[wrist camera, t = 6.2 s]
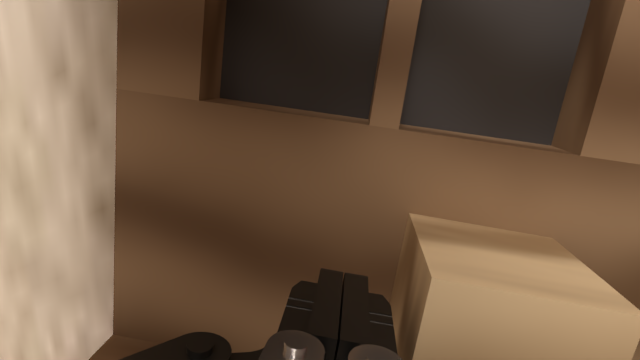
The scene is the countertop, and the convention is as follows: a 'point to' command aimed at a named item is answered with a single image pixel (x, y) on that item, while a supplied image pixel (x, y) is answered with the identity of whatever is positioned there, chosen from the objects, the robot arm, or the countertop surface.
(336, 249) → the box
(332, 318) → the robot arm
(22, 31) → the countertop surface
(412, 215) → the maple block
